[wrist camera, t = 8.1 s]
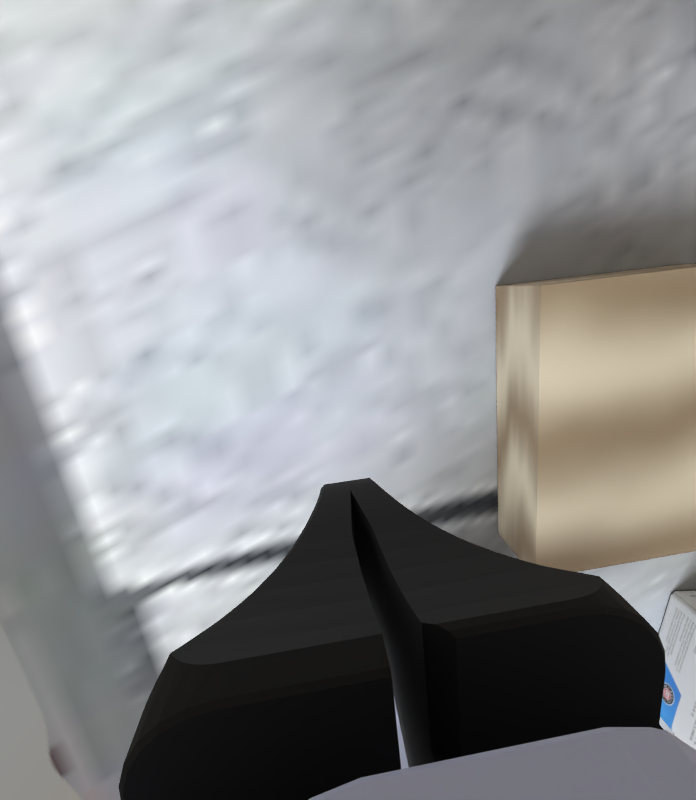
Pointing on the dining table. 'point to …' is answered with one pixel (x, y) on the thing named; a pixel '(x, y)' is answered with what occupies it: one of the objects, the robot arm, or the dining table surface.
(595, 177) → the dining table surface
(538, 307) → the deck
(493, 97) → the dining table surface
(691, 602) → the ink box
